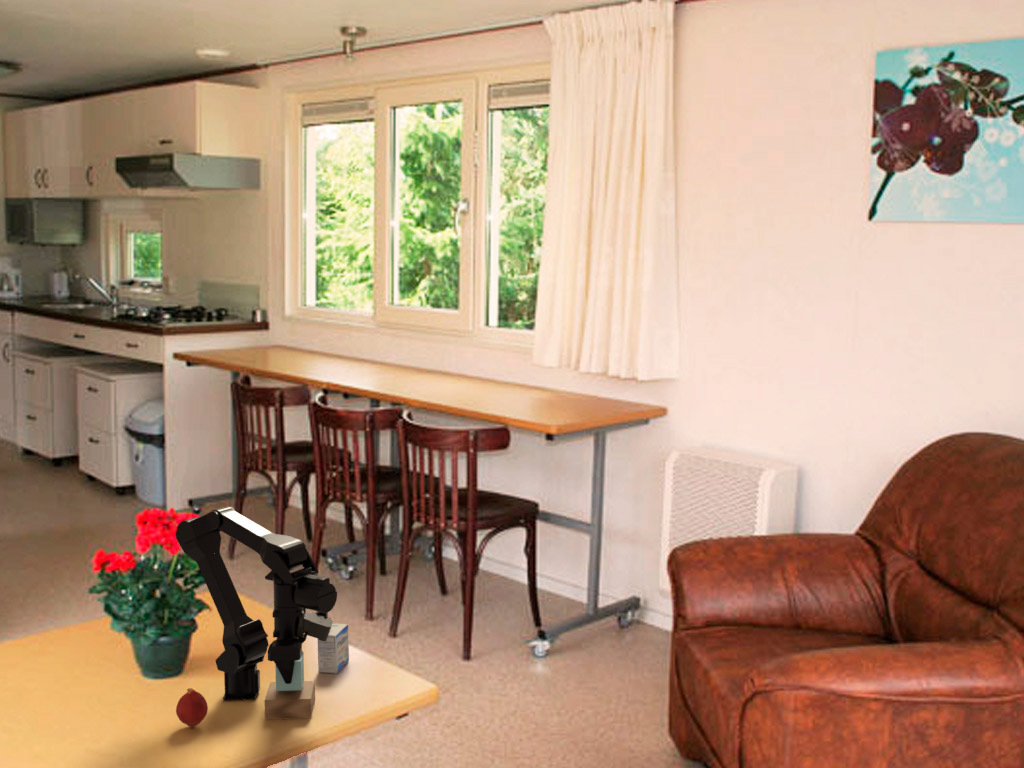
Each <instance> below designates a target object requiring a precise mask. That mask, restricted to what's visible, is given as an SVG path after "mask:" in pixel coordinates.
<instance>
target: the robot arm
mask: <svg viewBox="0 0 1024 768" xmlns="http://www.w3.org/2000/svg"><path fill="white" fill-rule="evenodd" d="M221 532H222V533H223V534H226V535H227V536H228V537H231V538H232V539H234V540H236V541H237V542H239V543H241V544H242V545H244V546H246V548H249V549H250V550H252V551H254V552H255V553H257V554H258V555H259V556H260V559H261V562H262V563H263V565H264V566H266V567H267V568H269V570H270V572H268V573H267V574H266V575H265V576H264V578H265V580H267V581H270V582H273V583H272V584H273V586H272V587H273V610H272V618H273V620H274V621H273V622H274V623H273V625H274V626H273V627H274V628H273V632H272V638H276V639H275V640H273V641H272V642H271V643H270V644H269V640H268V637H269V635H268V633H267V632H266V631H265V629H264V625H263V622H262V621H261V619H259V618H257V619H255V620H253V618H251V617H250V616H249V615H248V614H247V613H246V610H245V608H244V606H243V604H242V601H241V599H240V596H239V595H238V592H237V590H236V587H235V584H234V582H233V581H232V578H231V575H230V573H229V570H228V569H227V566H226V564H225V562H224V560H223V557H222V555H221V544H222V535H221ZM175 538H176V540H177V543H178V545H179V546H180V547H181V550H182V551H183V553H184V554H185V555H186V556H188V557H189V558H190V559H191V560H193V561H194V562H196V564H197V566H198V568H199V571H200V573H201V575H202V578H203V580H204V582H206V583H205V584H206V587H207V590H208V591H209V594H210V597H211V598H212V601H213V603H214V606H215V608H216V611H217V613H218V616H219V617H220V619H221V622H222V624H223V633H222V644H223V648H224V650H223V652H221V653H220V654H219V656H218V657H217V658H216V659H215V664H216V668H217V671H220V672H222V673H224V674H223V677H224V679H223V680H224V694H223V696H222V700H223V701H247V700H248V701H249V700H250V701H253V700H255V699H256V698H257V695H258V694H259V692H260V691H261V690H260V689H261V670H260V669H258V664H259V663H262V662H263V661H264V659H265V655H266V654H267V661H269V662H274V664H276V665H275V667H276V666H277V668H278V670H279V672H280V674H281V676H282V677H283V679H284V681H285V683H286V684H291V682H292V676H293V670H294V664H295V661H297V660H300V659H301V655H302V652H303V644H304V642H306V640H307V637H308V636H309V637H311V638H314V639H317V640H318V639H319V640H321V641H326V640H327V637H328V635H329V632H330V629H331V626H332V624H333V623H334V622H333V620H332V617H329V614H328V613H329V612H331V611H332V610H333V609H334V607H335V605H336V602H337V599H338V591H337V589H336V587H335V586H334V584H333V583H331V582H330V581H331V579H330V577H329V576H320V575H318V574H319V570H318V567H317V566H316V563H315V562H314V560H313V559H312V557H311V555H310V553H309V550H308V549H307V547H306V544H305V543H304V542H303V541H302V540H301V539H299V538H295V537H293V536H290V535H286V534H277V533H274V532H272V531H270V530H268V529H266V528H265V527H263V526H262V525H260V524H258V523H256V522H255V521H253V520H251V519H250V518H248V517H246V516H244V515H242V514H241V513H239V512H237V511H236V509H235V508H234V507H233V506H227V505H226V506H223V507H218V508H215V509H212V510H210V511H209V512H208V513H206V514H203V515H200V516H196V517H192V518H189V519H186V520H182V521H180V522H179V523H178V525H177V527H176V531H175ZM214 553H215V554H214ZM301 567H302V568H301ZM298 568H300V569H298ZM295 569H298V570H295ZM293 570H295V571H293ZM291 571H292V572H291ZM307 610H311V611H312V612H307ZM313 611H314V612H313Z"/></svg>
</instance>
